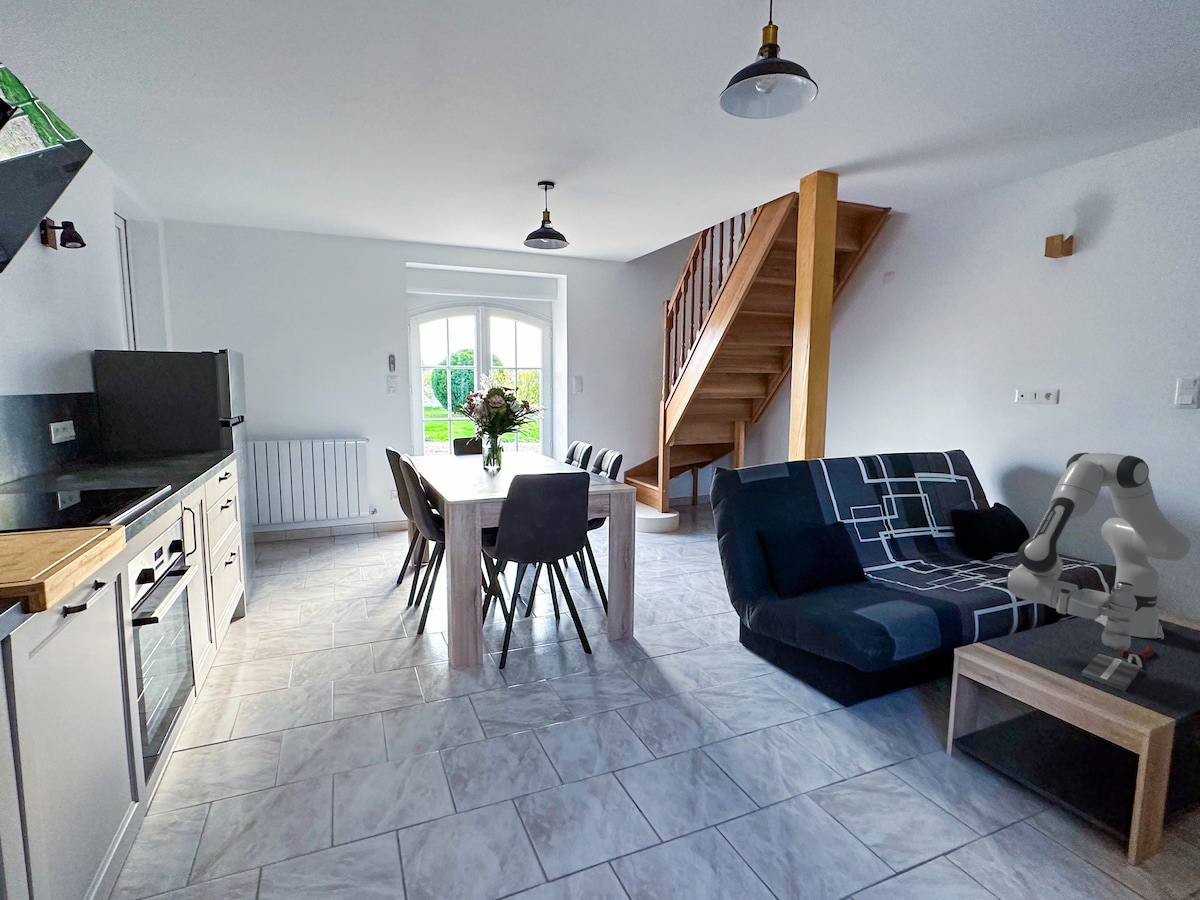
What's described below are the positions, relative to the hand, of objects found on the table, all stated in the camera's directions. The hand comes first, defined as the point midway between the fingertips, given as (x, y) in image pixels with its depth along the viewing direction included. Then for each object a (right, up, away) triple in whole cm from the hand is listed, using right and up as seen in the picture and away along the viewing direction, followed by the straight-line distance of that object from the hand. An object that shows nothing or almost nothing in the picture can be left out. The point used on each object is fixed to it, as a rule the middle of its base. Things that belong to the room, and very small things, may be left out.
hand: (1124, 612), depth 177 cm
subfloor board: (-1, -19, +3) cm, 20 cm away
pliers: (+15, -19, +17) cm, 30 cm away
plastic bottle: (-1, -11, +2) cm, 12 cm away
